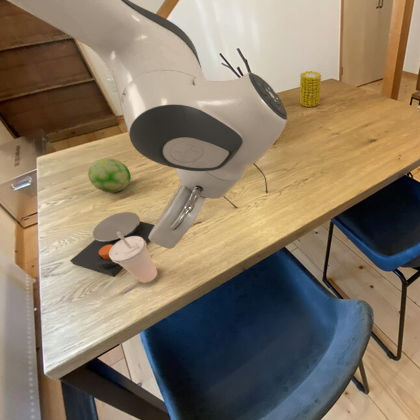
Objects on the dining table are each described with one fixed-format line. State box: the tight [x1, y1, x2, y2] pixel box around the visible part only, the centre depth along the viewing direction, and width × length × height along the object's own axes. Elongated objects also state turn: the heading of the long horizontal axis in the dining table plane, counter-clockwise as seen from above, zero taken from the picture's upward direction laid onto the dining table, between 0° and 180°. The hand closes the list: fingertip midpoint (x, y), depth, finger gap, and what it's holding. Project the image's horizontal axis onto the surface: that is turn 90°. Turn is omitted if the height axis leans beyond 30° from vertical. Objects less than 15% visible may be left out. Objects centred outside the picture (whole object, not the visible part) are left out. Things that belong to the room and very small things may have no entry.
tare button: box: [99, 245, 113, 260], centre depth 62 cm, size 3×3×2 cm
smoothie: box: [109, 232, 158, 284], centre depth 56 cm, size 6×6×14 cm
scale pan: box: [92, 211, 141, 243], centre depth 68 cm, size 10×10×1 cm
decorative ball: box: [87, 157, 132, 193], centre depth 81 cm, size 10×10×10 cm
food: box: [299, 70, 322, 108], centre depth 127 cm, size 15×12×10 cm
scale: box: [69, 220, 155, 278], centre depth 66 cm, size 15×12×3 cm
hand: (170, 216), depth 49 cm, fingers open, 8 cm apart
